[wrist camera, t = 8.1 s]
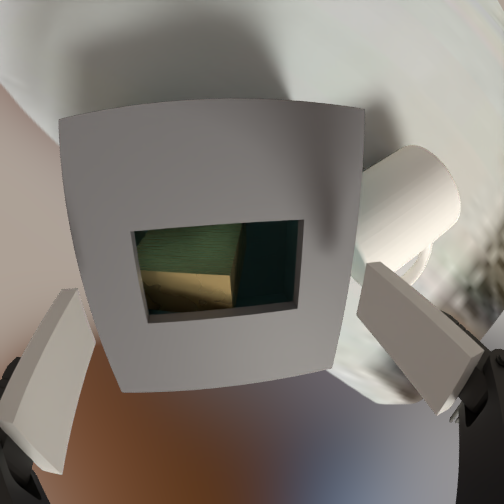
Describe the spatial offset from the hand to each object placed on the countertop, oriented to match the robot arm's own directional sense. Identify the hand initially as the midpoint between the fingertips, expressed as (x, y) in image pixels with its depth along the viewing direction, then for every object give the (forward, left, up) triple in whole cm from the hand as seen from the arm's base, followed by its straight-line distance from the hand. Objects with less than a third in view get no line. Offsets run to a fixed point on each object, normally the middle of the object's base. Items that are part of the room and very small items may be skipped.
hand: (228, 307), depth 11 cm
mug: (+1, +15, -13) cm, 20 cm away
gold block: (0, 0, -11) cm, 11 cm away
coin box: (0, 0, -13) cm, 13 cm away
